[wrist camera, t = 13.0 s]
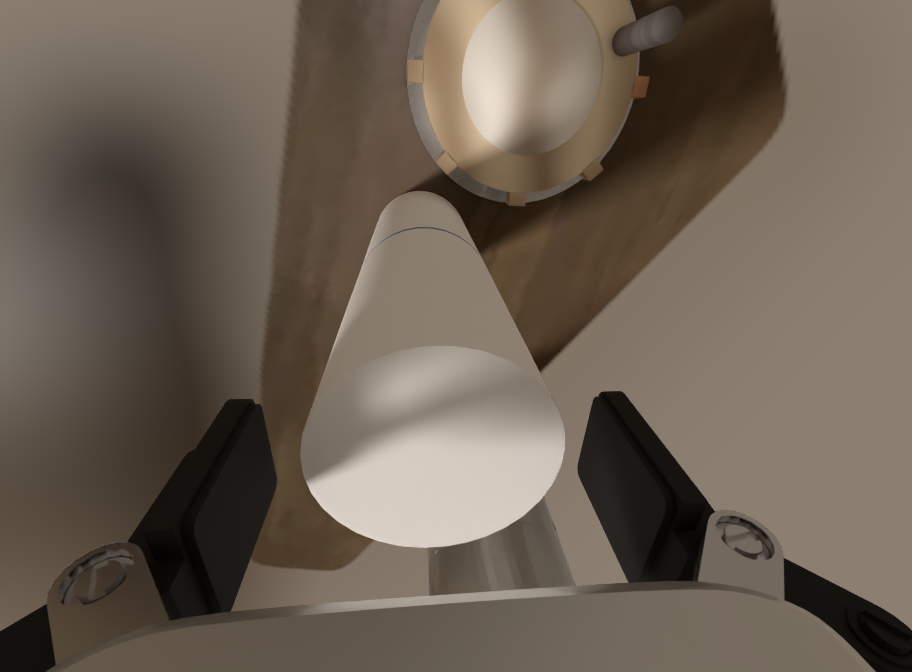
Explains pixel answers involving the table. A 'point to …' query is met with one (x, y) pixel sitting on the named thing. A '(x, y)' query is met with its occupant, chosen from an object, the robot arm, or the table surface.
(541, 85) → the dial
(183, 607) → the robot arm
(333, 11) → the table surface
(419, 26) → the dial base
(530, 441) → the cylindrical container
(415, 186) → the table surface
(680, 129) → the table surface
